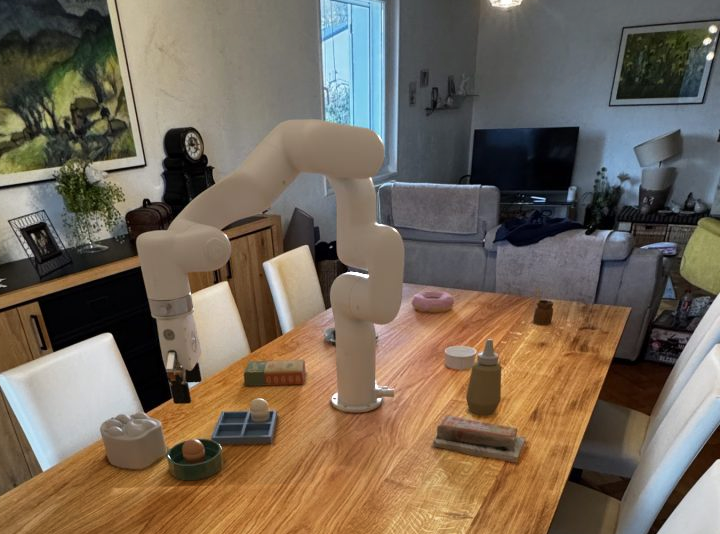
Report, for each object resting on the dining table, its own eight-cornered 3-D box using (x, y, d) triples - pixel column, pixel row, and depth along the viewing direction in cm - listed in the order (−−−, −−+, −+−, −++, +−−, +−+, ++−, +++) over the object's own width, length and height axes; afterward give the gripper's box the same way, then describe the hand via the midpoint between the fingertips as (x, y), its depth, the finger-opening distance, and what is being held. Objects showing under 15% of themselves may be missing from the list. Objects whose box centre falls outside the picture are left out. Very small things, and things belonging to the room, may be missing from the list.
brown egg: (208, 460, 121) (204, 434, 118) (204, 471, 117) (200, 445, 114) (188, 461, 121) (183, 435, 118) (183, 472, 117) (178, 445, 114)
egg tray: (277, 417, 138) (276, 410, 137) (271, 444, 127) (270, 436, 126) (222, 418, 139) (221, 411, 138) (212, 445, 127) (210, 438, 126)
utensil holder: (553, 325, 191) (559, 288, 184) (534, 325, 191) (540, 289, 184) (548, 319, 196) (554, 284, 189) (529, 320, 196) (534, 284, 190)
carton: (303, 385, 154) (302, 370, 152) (244, 386, 155) (242, 371, 153) (305, 373, 162) (304, 358, 159) (249, 374, 162) (247, 360, 160)
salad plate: (315, 330, 193) (314, 317, 191) (366, 325, 196) (366, 312, 194) (327, 350, 177) (326, 335, 175) (382, 344, 180) (382, 329, 178)
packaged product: (432, 427, 121) (446, 408, 129) (431, 447, 124) (444, 427, 131) (519, 443, 114) (528, 422, 122) (516, 464, 117) (525, 442, 124)
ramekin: (440, 369, 161) (441, 354, 159) (447, 358, 168) (448, 344, 166) (472, 372, 158) (473, 357, 156) (477, 361, 165) (479, 347, 163)
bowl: (227, 454, 124) (225, 438, 122) (218, 481, 114) (215, 464, 112) (177, 455, 124) (174, 439, 122) (164, 483, 115) (160, 466, 113)
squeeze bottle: (502, 407, 139) (511, 335, 130) (495, 421, 133) (504, 347, 124) (469, 402, 142) (476, 332, 133) (460, 415, 136) (467, 343, 127)
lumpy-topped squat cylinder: (139, 473, 118) (130, 436, 114) (95, 459, 124) (84, 424, 119) (173, 450, 126) (166, 415, 121) (130, 438, 131) (121, 404, 127)
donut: (410, 314, 206) (410, 300, 203) (412, 302, 219) (412, 289, 216) (454, 315, 203) (455, 301, 201) (453, 303, 216) (454, 289, 214)
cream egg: (271, 418, 137) (268, 394, 134) (269, 427, 133) (266, 402, 130) (253, 419, 137) (250, 395, 134) (250, 427, 133) (247, 403, 130)
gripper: (180, 319, 95) (198, 411, 104) (201, 291, 110) (215, 373, 119) (136, 321, 95) (157, 412, 104) (163, 292, 110) (179, 375, 119)
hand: (188, 392), depth 112 cm, fingers open, 9 cm apart
